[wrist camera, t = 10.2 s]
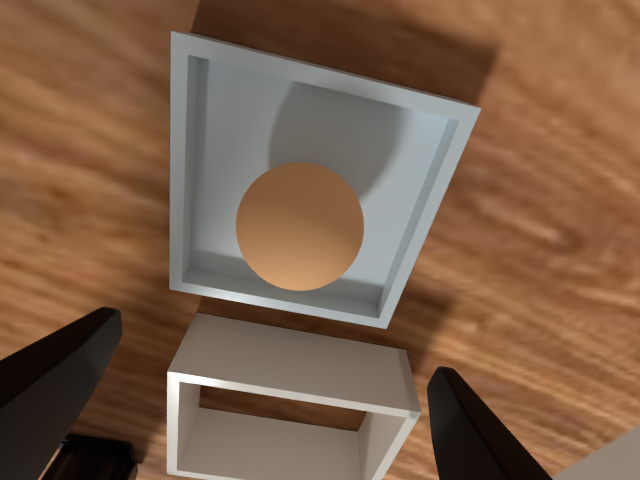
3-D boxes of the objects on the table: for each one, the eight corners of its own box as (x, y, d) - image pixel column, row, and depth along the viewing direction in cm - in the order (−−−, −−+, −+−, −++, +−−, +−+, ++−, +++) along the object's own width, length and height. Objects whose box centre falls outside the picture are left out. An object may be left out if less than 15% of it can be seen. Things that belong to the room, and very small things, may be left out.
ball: (243, 237, 20) (215, 305, 15) (256, 135, 17) (227, 175, 12) (343, 256, 21) (349, 328, 16) (371, 161, 18) (391, 209, 13)
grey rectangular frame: (190, 411, 30) (166, 474, 25) (196, 312, 24) (167, 371, 20) (363, 437, 31) (368, 501, 27) (405, 349, 26) (421, 412, 21)
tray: (182, 268, 22) (169, 289, 20) (189, 32, 16) (170, 30, 14) (381, 305, 24) (386, 329, 22) (464, 101, 17) (481, 108, 15)
